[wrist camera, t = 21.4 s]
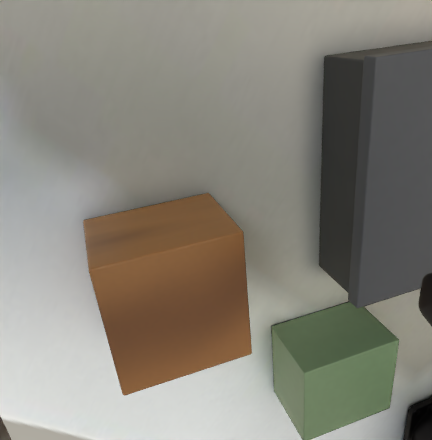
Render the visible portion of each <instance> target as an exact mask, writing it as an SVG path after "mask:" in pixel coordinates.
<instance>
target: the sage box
mask: <svg viewBox="0 0 432 440" xmlns="http://www.w3.org/2000/svg"><path fill="white" fill-rule="evenodd" d="M398 345H399V339H398V338H397V337H396V336H395V335H393V334H392V333H391V332H390V331H389V330H388V329H387V328H386V327H385V326H384V325H383V324H382V323H381V322H379V321H378V320H377V319H376V318H375V317H374V316H373V315H372V314H371V313H370V312H369V311H368V310H366V309H365V308H364V307H360V308H356V307H355V306H354V305H353V304H352V303H351V302H348V303H344V304H341V305H338V306H335V307H332V308H328V309H325V310H322V311H319V312H316V313H312V314H309V315H306V316H303V317H300V318H297V319H293V320H290V321H287V322H284V323H281V324H277V325H274V326H272V350H273V376H274V392H275V393H276V395H277V397H278V399H279V400H280V402H281V404H282V405H283V407H284V409H285V411H286V412H287V414H288V416H289V417H290V419H291V421H292V423H293V424H294V426H295V428H296V429H297V431H298V433H299V435H300V436H301V438H302V440H311V439H313V438H316V437H318V436H321V435H323V434H326V433H328V432H331V431H333V430H336V429H338V428H341V427H343V426H346V425H348V424H351V423H353V422H356V421H358V420H361V419H363V418H366V417H368V416H371V415H373V414H376V413H378V412H381V411H383V410H386V409H388V408H390V402H391V395H392V388H393V380H394V373H395V366H396V359H397V352H398Z"/></svg>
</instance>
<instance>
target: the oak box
mask: <svg viewBox="0 0 432 440" xmlns="http://www.w3.org/2000/svg"><path fill="white" fill-rule="evenodd" d="M83 224H84V233H85V242H86V251H87V260H88V268H89V273H90V277H91V281H92V284H93V288H94V292H95V295H96V299H97V302H98V306H99V310H100V313H101V317H102V321H103V324H104V328H105V332H106V335H107V339H108V343H109V346H110V350H111V354H112V357H113V361H114V364H115V368H116V372H117V375H118V379H119V383H120V386H121V390H122V394H123V395H128V394H131V393H134V392H137V391H140V390H143V389H146V388H149V387H152V386H155V385H158V384H161V383H164V382H167V381H170V380H173V379H176V378H180V377H183V376H186V375H189V374H192V373H195V372H198V371H201V370H204V369H207V368H210V367H213V366H216V365H219V364H222V363H225V362H228V361H231V360H234V359H237V358H240V357H244V356H247V355H250V354H251V353H252V349H251V335H250V320H249V306H248V292H247V278H246V264H245V250H244V236H243V231H242V230H241V229H240V228H239V227H238V225H237V224H236V223H235V222H234V221H233V220H232V219H231V218H230V216H229V215H228V214H227V213H226V212H225V211H224V210H223V209H222V207H221V206H220V205H219V204H218V203H217V202H216V201H215V200H214V198H213V197H212V196H211V195H210V194H209V193H206V194H201V195H197V196H192V197H188V198H183V199H178V200H174V201H169V202H165V203H160V204H155V205H151V206H146V207H142V208H137V209H132V210H128V211H123V212H119V213H114V214H109V215H105V216H100V217H96V218H91V219H86V220H84V221H83Z"/></svg>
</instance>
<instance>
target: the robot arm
mask: <svg viewBox="0 0 432 440" xmlns="http://www.w3.org/2000/svg"><path fill="white" fill-rule="evenodd" d="M419 308H420V311H421V313H422V315H423V316H424V317H425V318H426V320H427V321H428V322H429V323H430V325H431V326H432V273H429V274H426V275H425V276H424V277H423V280H422V285H421V291H420V297H419ZM0 440H11V438H10V436H9V433H8V431H7V429H6V427H5V425H4V423H3V421H2V419H1V417H0ZM404 440H432V398H430V399H427V400H425V401H422V402H420V403H418V404H415V405H413V406H412V407H410V409H409V411H408V417H407V423H406V429H405V434H404Z"/></svg>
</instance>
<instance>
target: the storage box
mask: <svg viewBox="0 0 432 440" xmlns="http://www.w3.org/2000/svg"><path fill="white" fill-rule="evenodd" d="M319 266H320V267H321V268H322V269H323V270H324V271H326V272H327V273H328V274H329V275H330V276H331V277H332V278H333V279H334V280H335V281H336V282H337V283H338V284H340V285H341V286H342V287H343V288H344V289H345V290H346V291H347V292H348V293H349V295H348V300H349V301H350V302H351V303H352V304H353V305H354V306H355V307H356V308H360V307H363V306H366V305H370V304H373V303H376V302H379V301H382V300H385V299H389V298H392V297H395V296H398V295H401V294H404V293H407V292H411V291H414V290H417V289H420V288H421V285H422V280H423V277H424V276H425V275H426V274H429V273H432V41H428V42H421V43H413V44H406V45H399V46H392V47H385V48H377V49H370V50H363V51H356V52H349V53H341V54H334V55H327V56H325V57H324V93H323V133H322V173H321V213H320V253H319Z"/></svg>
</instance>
